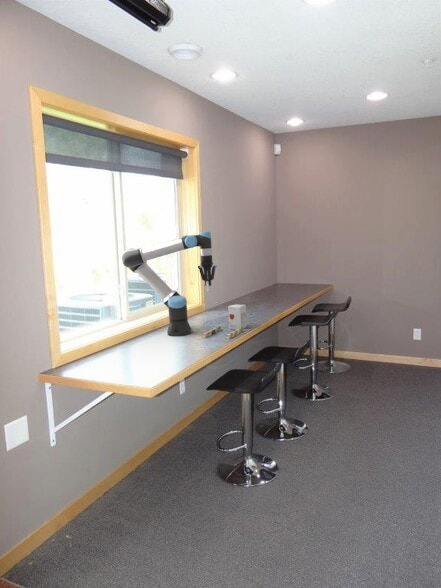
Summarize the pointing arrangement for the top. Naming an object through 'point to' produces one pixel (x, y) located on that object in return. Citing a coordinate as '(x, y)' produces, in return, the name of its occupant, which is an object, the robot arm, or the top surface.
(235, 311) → the supplement box
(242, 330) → the beige paired bars
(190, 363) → the top surface
